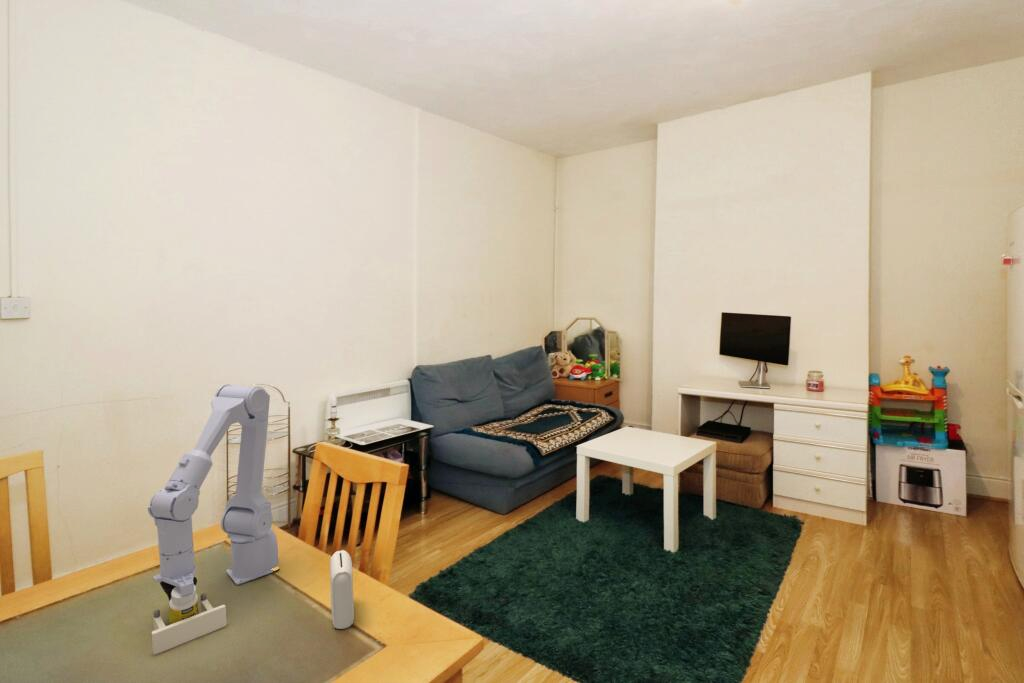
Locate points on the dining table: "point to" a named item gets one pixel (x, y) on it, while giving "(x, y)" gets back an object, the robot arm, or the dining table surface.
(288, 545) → the dining table surface
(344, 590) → the photo printer
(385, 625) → the dining table surface
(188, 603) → the supplement bottle
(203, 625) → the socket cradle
